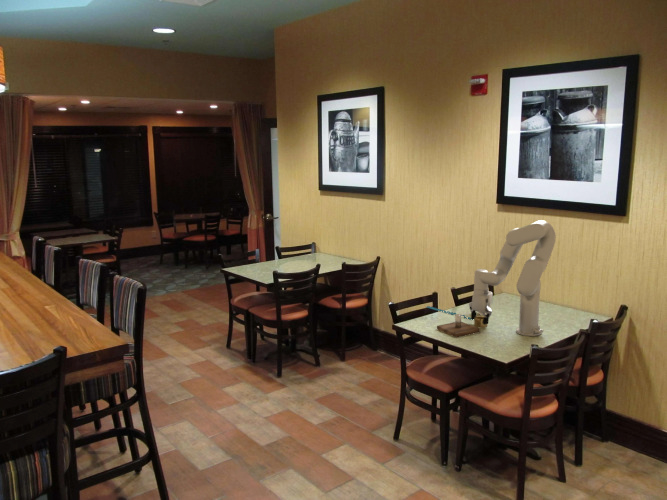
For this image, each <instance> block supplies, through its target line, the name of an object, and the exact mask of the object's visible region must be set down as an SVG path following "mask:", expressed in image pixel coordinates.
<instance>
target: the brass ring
mask: <svg viewBox="0 0 667 500" xmlns="http://www.w3.org/2000/svg"><path fill="white" fill-rule="evenodd" d="M483 318H484V315H476V317H474V320H473V326H474V327H475V326H476V327H477V328H478V327H481V328H483V329H485V328H487V327H488V325H489V323H488V324H485V325H484V324H483ZM481 328H480V329H481Z"/></svg>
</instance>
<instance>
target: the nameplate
mask: <svg viewBox="0 0 667 500" xmlns="http://www.w3.org/2000/svg"><path fill="white" fill-rule="evenodd" d="M425 308H427V309H430V310H434V311H437V312H438V311H439V312H441V311H442V312H441V313H444V314H447V313H448V314H447V315H452V316H454V315H455V314H457V312H453V311H452V312H451V311H449V310H447V311H446V310H443V309H440V308H437V307H432V306H429V305H428V306H425ZM443 311H444V312H443ZM461 316H464V318H463V319H465V320H468V319H469V320H471V317H469V316H466V315H465V314H463V315H462V314H461ZM466 317H468V319H467V318H466Z"/></svg>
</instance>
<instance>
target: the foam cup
mask: <svg viewBox="0 0 667 500" xmlns="http://www.w3.org/2000/svg"><path fill="white" fill-rule="evenodd" d="M488 292H489V293H488V295H489V299H490V308H492V307H491V306H492V301H493V296H494V295H493V292H492V291H489V290H488ZM478 313H479V314H480V315H479V314H478ZM478 313H477V314H478V315H479V316H484V315H483V313H480V312H478ZM485 314H486V313H485ZM486 315H487V314H486Z"/></svg>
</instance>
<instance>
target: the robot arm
mask: <svg viewBox="0 0 667 500" xmlns="http://www.w3.org/2000/svg"><path fill="white" fill-rule="evenodd" d="M556 238H557V235H556V231H555V229H554V227H553V226H552V225H551V224H550V223H549V222H548V221H547V220H542V219H540V220H536V221H535V222H532V223H529V224H527V225H525V226H522V227H515V228H512V229H511V230H509V231H508V232H507V234H506V237H505V242H504V244H503V245H502V247H501V249H500V252H499V255H500V257H499V260H498V262H497V264H496V265H495V268H494V269H493V271H492V270H491V271H489V270H488V269H485V268H477V269H475V271H474V276H473V277H474V279H473V281H474V282H473V284H474V285H473V294H472V299H471V302H469V303H468V306H469V310H470V316H471V317H470V318H471V319H472V320H473V319H474V317H476V316H477V312H480V313H483V315H482V316H484V318H483V324H484V325H485V324H488V325H489V321H490V320H489V319H490V317H491V315H492V313H493V310H492V309H491V307H490V299H489V295H488V293H489V292H488V291H489V286H493V287H494V286H495V287H496V286H499V285H500V284H501V283H502V282H504V281H505V280H506V278H507V276H508V274H509V273H510V270H511V269H512V267H513V264H514V262H515V260H516V258H517V256H518V254H519V253H520V251H521V249H522V247H523V246H524V245H525V244H529V243H532V242H534V241H536V244H535V246H534V248H533V250H532V251H533V252H532V253H531V256H530V257H529V258H527V260H526V261H525V262H524V265H523V267H522V269H521V272H520V274H519V277H518V280H517V282H516V290H517V292H518V293H519V295H520V297H519V320H518V321H519V322H518V323H519V324H518V327H517V328H516V329H515V332H516V333H517V334H519V335H521V336H526V337H538V336H540V335H542V334H543V332H544V329H542V328H541V325H540V324H539V321H540V320H539V318H540V317H539V315H540V296H541V295H540V294H541V290H542V289H541V287H542V283H541V282H542V281H541V277H542V275H543V274H544V272H545V271H546V270H547V266H548V264H549V261H550V258H551V256H552V253H553V251H554V248H555V244H556ZM485 313H486V314H487V315H486V314H485ZM471 319H470V320H471ZM472 320H471V321H472ZM473 321H474V320H473Z"/></svg>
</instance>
